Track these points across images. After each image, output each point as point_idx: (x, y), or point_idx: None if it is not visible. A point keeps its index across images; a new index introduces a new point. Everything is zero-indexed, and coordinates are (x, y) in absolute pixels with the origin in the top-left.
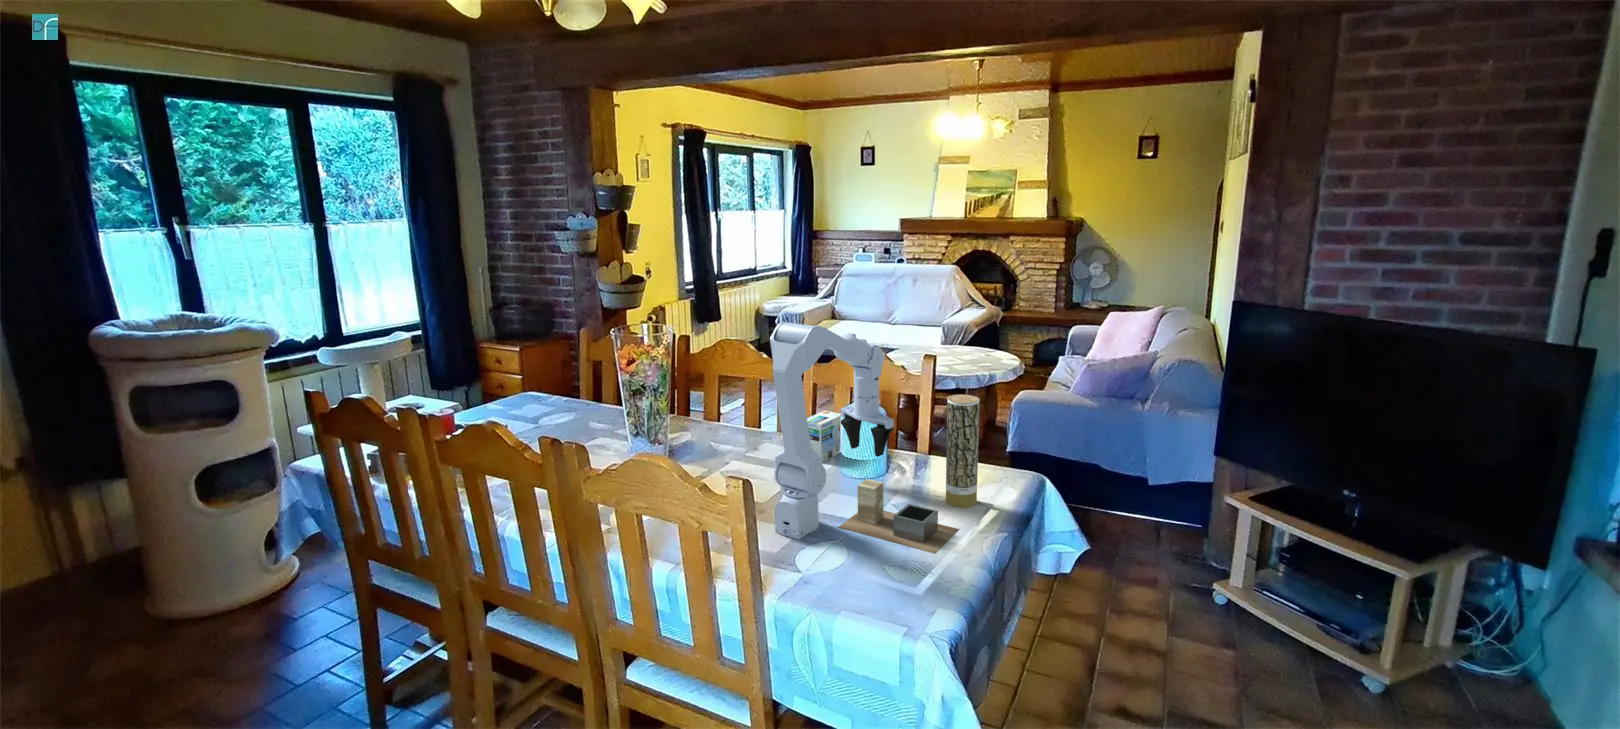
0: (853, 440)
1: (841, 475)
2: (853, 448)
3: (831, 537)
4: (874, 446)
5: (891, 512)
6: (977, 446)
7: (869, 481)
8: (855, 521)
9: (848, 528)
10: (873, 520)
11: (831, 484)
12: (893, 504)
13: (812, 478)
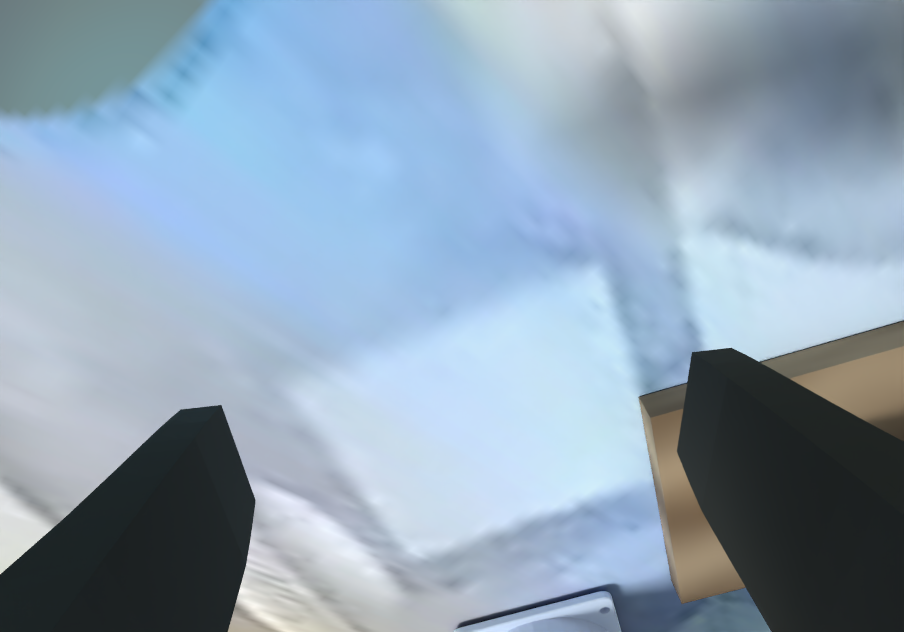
0: (214, 604)
1: (9, 145)
2: (250, 493)
3: (675, 608)
4: (758, 605)
5: (827, 368)
6: None
7: None
8: (713, 536)
9: (727, 582)
10: None
11: (158, 316)
12: (721, 219)
13: None
